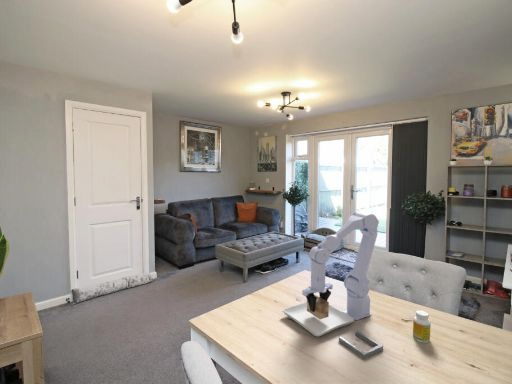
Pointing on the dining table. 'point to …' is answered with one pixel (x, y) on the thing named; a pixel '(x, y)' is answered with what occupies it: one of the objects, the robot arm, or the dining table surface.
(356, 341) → the dining table surface
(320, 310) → the tan cardboard box
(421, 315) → the supplement bottle
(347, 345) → the bay
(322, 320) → the salad plate
